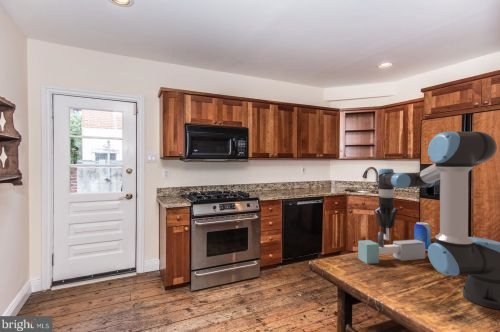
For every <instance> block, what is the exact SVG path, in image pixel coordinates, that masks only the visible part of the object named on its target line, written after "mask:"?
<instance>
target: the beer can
mask: <svg viewBox="0 0 500 332" xmlns="http://www.w3.org/2000/svg"><path fill="white" fill-rule="evenodd" d="M413 229H414V230H413V235H414V237H413V238H414V239H413V240H415V239H416V240H419V241H422V242H425V252H428V247H429V246H430V245H431V244H432V243H431V240H432V239H431V233H432V232H431V231H432V229H431V226H430V225H429V223H428V222H424V221H423V222H422V221H417V222H416V223H415V225H414V226H413Z"/></svg>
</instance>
